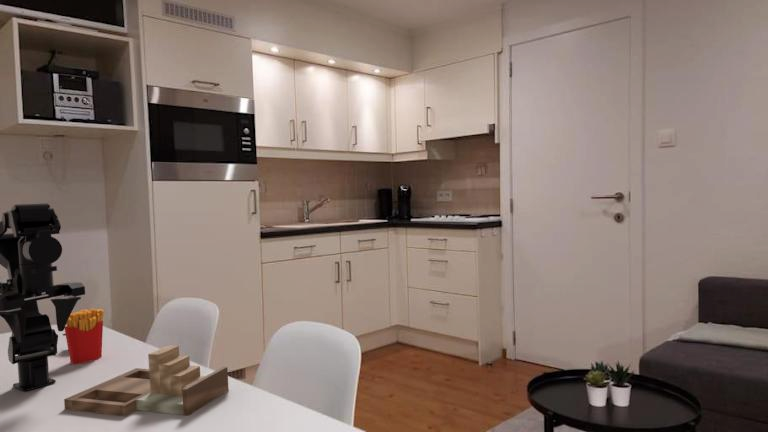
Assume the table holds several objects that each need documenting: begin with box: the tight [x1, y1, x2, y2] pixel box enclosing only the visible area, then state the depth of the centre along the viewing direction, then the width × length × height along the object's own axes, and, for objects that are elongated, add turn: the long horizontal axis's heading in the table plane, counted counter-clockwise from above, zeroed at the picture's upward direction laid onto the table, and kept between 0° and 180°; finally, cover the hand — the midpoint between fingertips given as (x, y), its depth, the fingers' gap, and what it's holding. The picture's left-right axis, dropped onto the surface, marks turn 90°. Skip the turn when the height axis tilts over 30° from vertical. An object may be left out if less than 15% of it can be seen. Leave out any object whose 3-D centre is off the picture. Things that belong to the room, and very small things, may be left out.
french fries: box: [64, 307, 105, 365], centre depth 139 cm, size 9×4×13 cm, turn 141°
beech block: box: [147, 345, 206, 396], centre depth 108 cm, size 10×6×8 cm, turn 72°
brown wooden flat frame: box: [63, 366, 230, 417], centre depth 110 cm, size 27×19×5 cm
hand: (41, 336), depth 112 cm, fingers open, 9 cm apart
